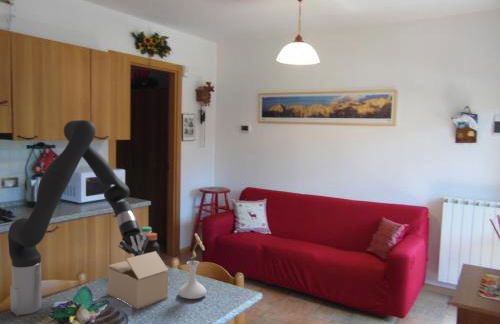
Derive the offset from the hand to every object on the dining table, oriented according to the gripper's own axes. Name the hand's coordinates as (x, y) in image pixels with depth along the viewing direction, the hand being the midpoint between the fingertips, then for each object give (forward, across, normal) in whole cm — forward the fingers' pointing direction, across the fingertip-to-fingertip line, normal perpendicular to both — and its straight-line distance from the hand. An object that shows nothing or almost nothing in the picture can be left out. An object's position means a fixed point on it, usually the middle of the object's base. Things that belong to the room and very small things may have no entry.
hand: (140, 260), depth 158 cm
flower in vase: (+18, +18, +3) cm, 26 cm away
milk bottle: (-10, +17, +32) cm, 37 cm away
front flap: (+4, +1, -3) cm, 5 cm away
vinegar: (-1, +13, +23) cm, 26 cm away
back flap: (-2, -1, +7) cm, 8 cm away
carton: (+9, -1, +12) cm, 15 cm away
